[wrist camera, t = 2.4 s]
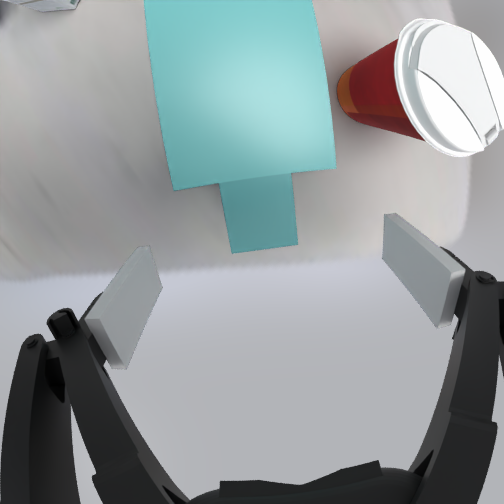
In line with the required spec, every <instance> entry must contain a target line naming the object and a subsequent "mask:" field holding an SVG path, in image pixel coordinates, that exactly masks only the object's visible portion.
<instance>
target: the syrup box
mask: <svg viewBox="0 0 504 504" xmlns="http://www.w3.org/2000/svg"><path fill="white" fill-rule="evenodd" d="M3 1H7V2H11V3H15V4H18V5H22V6H25V7H28V8H32V9H35V10H38V11H41V12H47V11H56V10H69V9H76V7H77V3H78V2H79V0H3Z"/></svg>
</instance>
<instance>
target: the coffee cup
mask: <svg viewBox="0 0 504 504" xmlns="http://www.w3.org/2000/svg"><path fill="white" fill-rule="evenodd" d="M337 96H338V100H339V103H340V105H341V107H342V109H343V110H344V111H345V113H346V114H347V115H348V116H349V117H351V118H352V119H354V120H355V121H357V122H360V123H362V124H366V125H369V126H373V127H377V128H381V129H384V130H388V131H392V132H396V133H399V134H403V135H406V136H410V137H413V138H416V139H419V140H423V141H426V142H427V143H429V144H430V145H431V146H432V147H433V148H435V149H437V150H438V151H440V152H442V153H444V154H447V155H450V156H455V157H465V156H469V155H472V154H474V153H476V152H480V151H483V150H484V147H486V146H487V145H488V146H489V145H490V144H491V143H492V142H493V141H494V140H495V138H496V137H497V136H498V132H499V131H502V130H503V128H504V79H503V75H502V73H501V70H500V68H499V66H498V63H497V61H496V60H495V58H494V56H493V54H492V53H491V52H490V50H489V49H488V48H487V46H486V45H485V44H484V43H483V42H482V41H481V40H480V39H479V38H478V37H477V36H476V35H475V34H473V33H472V32H470V31H468V30H466V29H464V28H461V27H458V26H455V25H452V24H449V23H447V22H444V21H440V20H436V19H420V18H418V19H416V20H414V21H411V22H410V23H409V24H407V25H406V26H405V27H404V28H403V29H402V31H401V32H400V33H399V38H398V39H397V40H395V41H393V42H391V43H390V44H388V45H386V46H384V47H383V48H381V49H379V50H378V51H376V52H374V53H373V54H371V55H369V56H368V57H366V58H364V59H363V60H361V61H360V62H358V63H357V64H355V65H354V66H352V67H351V68H349V69H348V70H347V71H346V72H345V73H344V74H343V75H342V76H341V78H340V80H339V82H338V86H337Z"/></svg>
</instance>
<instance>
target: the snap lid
mask: <svg viewBox="0 0 504 504" xmlns="http://www.w3.org/2000/svg"><path fill="white" fill-rule="evenodd" d="M144 8H145V19H146V28H147V37H148V46H149V54H150V61H151V69H152V76H153V83H154V89H155V96H156V102H157V108H158V114H159V120H160V125H161V131H162V136H163V142H164V147H165V152H166V157H167V162H168V167H169V172H170V177H171V181H172V186H173V190H174V191H177V190H182V189H188V188H193V187H199V186H205V185H210V184H216V183H219V187H220V193H221V198H222V204H223V209H224V215H225V220H226V226H227V231H228V236H229V242H230V247H231V252H232V254H233V253H241V252H248V251H255V250H263V249H270V248H277V247H284V246H292V245H298V238H297V227H296V216H295V205H294V195H293V186H292V176H291V173H296V172H305V171H315V170H325V169H336V156H335V144H334V134H333V124H332V115H331V107H330V99H329V92H328V85H327V78H326V71H325V65H324V59H323V53H322V48H321V42H320V37H319V32H318V27H317V22H316V17H315V13H314V8H313V4H312V0H144Z"/></svg>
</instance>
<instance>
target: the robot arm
mask: <svg viewBox="0 0 504 504" xmlns="http://www.w3.org/2000/svg"><path fill="white" fill-rule="evenodd" d="M382 259H383V260H384V261H385V263H386V264H387V265H388V266H389V267H390V269H391V270H392V271H393V272H394V273H395V275H396V276H397V277H398V278H399V280H400V281H401V282H402V283H403V285H404V286H405V287H406V288H407V290H408V291H409V292H410V294H411V295H412V296H413V297H414V299H415V300H416V301H417V302H418V304H419V305H420V307H421V308H422V309H423V311H424V312H425V313H426V314H427V316H428V317H429V319H430V320H431V321H432V323H433V324H434V326H435V327H436V328H437V329H440V328H443V327H446V326H449V325H451V322H452V319H453V316H454V314H455V315H456V316H457V317H458V323H457V326H456V329H455V332H454V335H453V337H452V339H453V340H454V341H453V346H452V351H451V355H450V360H449V364H448V367H447V371H446V375H445V379H444V383H443V386H442V389H441V393H440V396H439V399H438V402H437V405H436V409H435V411H434V414H433V417H432V420H431V423H430V425H429V428H428V430H427V433H426V436H425V438H424V441H423V443H422V445H421V448H420V450H419V452H418V454H417V456H416V458H415V460H414V462H413V463H412V465H411V466H410V468H409V470H408V471H406V470H403V469H397V468H381V467H380V464H379V461H378V460H377V461H373V462H370V463H365V464H362V465H358V466H354V467H349V468H344V469H340V470H338V471H336V472H334V473H331V474H329V475H327V476H324V477H322V478H319V479H317V480H314V481H311V482H309V483H306V484H303V485H294V484H283V483H276V482H269V481H262V480H250V481H220V489H217V490H213V491H210V492H207V493H204V494H202V495H199V496H197V497H195V498H193V499H192V500H189V499H188V498H187V497H186V496H185V495H184V494H183V492H181V490H180V489H179V488H178V487H177V486H176V485H175V484H174V482H173V481H172V480H171V479H170V477H169V475H168V474H167V473H166V471H165V470H164V469H163V467H162V466H161V465H160V463H159V461H158V460H157V459H156V457H155V456H154V454H153V453H152V451H151V450H150V448H149V447H148V445H147V443H146V442H145V440H144V439H143V437H142V435H141V434H140V432H139V431H138V429H137V427H136V426H135V424H134V422H133V420H132V419H131V417H130V415H129V413H128V412H127V410H126V408H125V406H124V404H123V403H122V401H121V399H120V397H119V395H118V393H117V391H116V389H115V387H114V385H113V383H112V381H111V379H110V377H109V375H108V373H107V371H106V369H105V368H104V366H103V365H104V363H105V361H106V359H107V361H108V363H109V364H110V366H111V368H112V369H127V367H128V365H129V363H130V360H131V358H132V355H133V353H134V350H135V348H136V346H137V343H138V341H139V339H140V336H141V334H142V332H143V330H144V327H145V325H146V323H147V320H148V318H149V316H150V313H151V311H152V309H153V307H154V305H155V303H156V301H157V298H158V296H159V294H160V292H161V290H162V288H163V287H162V284H161V281H160V278H159V275H158V272H157V269H156V266H155V262H154V259H153V256H152V252H151V249H150V246H143V247H137V249H136V250H135V251H134V252H133V254H132V255H131V256H130V257H129V259H128V260H127V261H126V263H125V264H124V265H123V266H122V268H121V269H120V270H119V272H118V273H117V274H116V276H115V277H114V278H113V280H112V281H111V282H110V284H109V285H108V287H107V288H106V289H105V291H104V292H102V293H100V294H99V295H98V296H97V297H96V298H95V299H94V300H93V302H92V303H91V305H90V306H89V307H88V308H87V311H85V313H84V314H83V316H82V317H81V319H80V320H79V321H78V320H77V318H76V317H75V314H74V313H73V311H72V309H70V308H63V309H61V310H58V311H57V312H55V313H53V314H52V315H51V316H50V317H49V318H48V320H47V325H48V327H49V329H50V331H51V332H52V334H53V336H54V338H55V339H56V340H53V341H50V342H46V341H45V339H44V338H43V336H42V335H41V334H34V335H32V336H29V337H28V338H27V339H26V340H25V341H24V342H23V344H22V346H21V349H20V352H19V356H18V360H17V364H16V367H15V371H14V375H13V380H12V384H11V389H10V394H9V399H8V404H7V410H6V417H5V424H4V431H3V441H2V452H1V472H0V474H1V475H0V491H1V492H0V494H1V501H0V504H81V503H80V498H79V493H78V487H77V480H76V473H75V465H74V456H73V445H72V430H71V406H72V409H73V412H74V415H75V418H76V421H77V424H78V427H79V430H80V433H81V436H82V438H83V441H84V444H85V446H86V449H87V451H88V453H89V456H90V458H91V461H92V463H93V465H94V468H95V470H96V474H95V475H93V476H92V481H93V483H94V486H95V488H96V490H97V492H98V495H99V497H100V499H101V501H102V502H103V504H477V502H478V499H479V496H480V494H481V491H482V488H483V484H484V482H485V478H486V475H487V472H488V468H489V464H490V461H491V457H492V453H493V449H494V445H495V440H496V435H497V423H496V422H492V414H493V407H494V401H495V394H496V385H497V375H498V361H499V356H500V361H501V366H502V371H503V376H504V282H497V280H496V278H495V277H494V276H493V275H491V274H489V273H487V272H484V271H475V272H474V271H472V270H471V269H470V268H469V267H468V266H467V265H466V264H464V263H463V262H462V261H460V259H459V258H458V257H455V255H454V254H453V253H452V252H450V251H449V250H447V249H445V248H442V247H439V246H438V245H436V244H435V243H434V242H433V241H431V240H430V239H429V238H428V237H426V236H425V235H424V234H423V233H421V232H420V231H419V230H418V229H416V228H415V227H414V226H412V225H411V224H410V223H408V222H407V221H406V220H404V219H403V218H402V217H400V216H399V215H398V214H396V213H393V214H384V236H383V254H382Z"/></svg>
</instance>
